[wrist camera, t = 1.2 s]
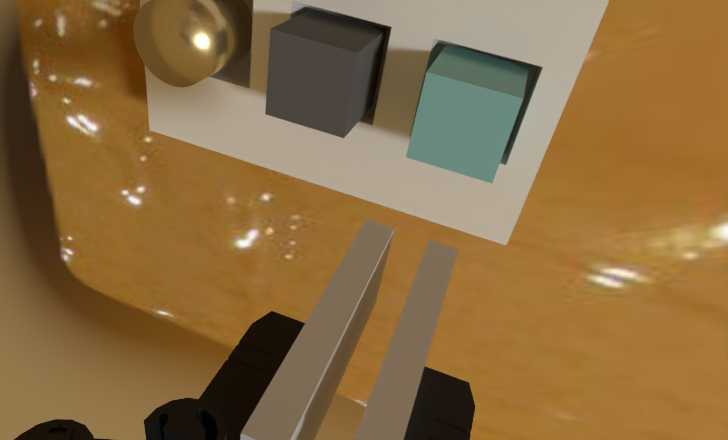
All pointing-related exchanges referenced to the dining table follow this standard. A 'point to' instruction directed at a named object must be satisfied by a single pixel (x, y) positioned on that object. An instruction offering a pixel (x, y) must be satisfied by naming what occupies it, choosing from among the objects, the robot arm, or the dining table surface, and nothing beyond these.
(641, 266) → the dining table surface
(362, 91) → the dark grey cube
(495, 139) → the teal cube
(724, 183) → the dining table surface
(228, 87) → the white slotted tray
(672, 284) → the dining table surface
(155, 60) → the gold metal cylinder
